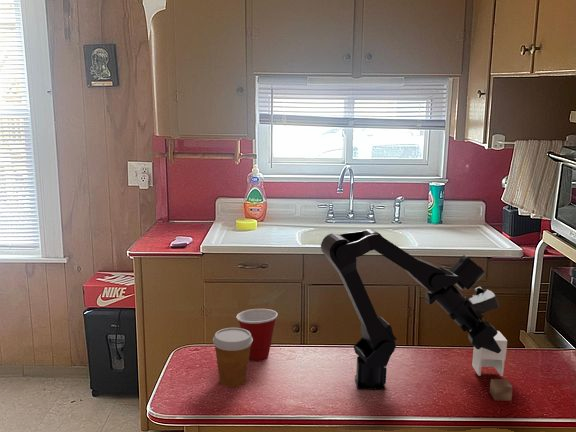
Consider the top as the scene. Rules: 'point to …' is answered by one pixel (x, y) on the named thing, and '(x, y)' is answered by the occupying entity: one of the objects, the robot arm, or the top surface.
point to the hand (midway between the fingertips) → (495, 346)
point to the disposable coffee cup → (232, 355)
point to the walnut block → (501, 389)
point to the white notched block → (490, 356)
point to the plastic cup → (258, 331)
